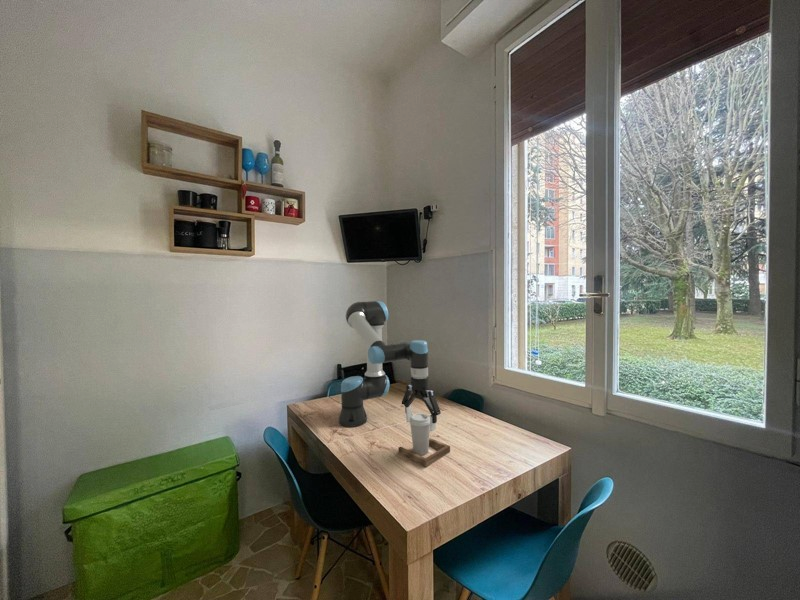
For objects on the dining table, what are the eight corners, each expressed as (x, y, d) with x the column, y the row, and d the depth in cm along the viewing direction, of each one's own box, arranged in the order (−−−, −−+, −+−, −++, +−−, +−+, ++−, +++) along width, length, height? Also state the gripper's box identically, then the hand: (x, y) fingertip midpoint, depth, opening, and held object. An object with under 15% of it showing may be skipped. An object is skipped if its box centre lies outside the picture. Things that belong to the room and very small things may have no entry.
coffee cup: (430, 457, 126) (429, 421, 126) (408, 455, 128) (407, 420, 128) (433, 446, 136) (432, 413, 136) (411, 444, 138) (411, 412, 138)
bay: (398, 453, 130) (398, 447, 130) (422, 440, 142) (422, 434, 142) (426, 467, 120) (426, 461, 120) (450, 451, 131) (450, 446, 131)
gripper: (393, 373, 138) (394, 420, 138) (437, 384, 120) (438, 437, 120) (404, 370, 143) (405, 415, 143) (448, 380, 125) (449, 431, 126)
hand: (420, 425), depth 132 cm, fingers open, 13 cm apart
